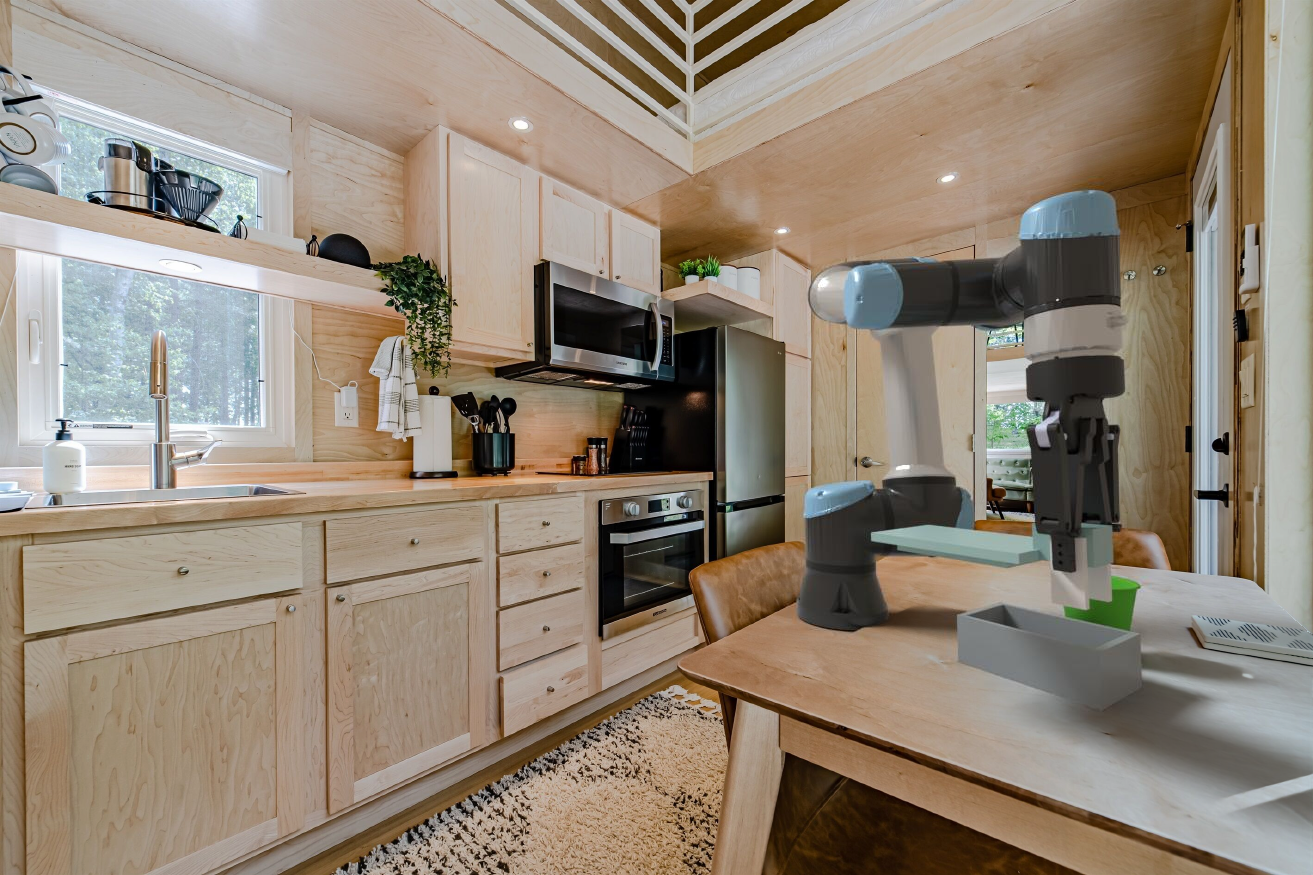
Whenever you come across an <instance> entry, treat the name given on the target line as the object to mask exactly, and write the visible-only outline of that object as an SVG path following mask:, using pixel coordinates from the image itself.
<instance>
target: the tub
mask: <svg viewBox="0 0 1313 875" xmlns="http://www.w3.org/2000/svg"><path fill="white" fill-rule="evenodd" d="M956 626H957V628H956V630H957V657H958V658H957V660H958V661H957V662H958V663H960V664H963V665H965V666H969V667H971V668H974V669H976V670H980V671H983V672H986V673H988V674H992V675H995V676H998V677H1000V678H1003V679H1007V680H1009V681H1013V682H1016V683H1019V684H1022V685H1024V686H1028V687H1029V688H1030V687H1031V688H1034V689H1036V690H1040V691H1042V692H1045V693H1048V694H1051V695H1053V696H1057V697H1060V698H1062V699H1066V700H1068V701H1072V702H1075V703H1078V704H1080V705H1083V706H1087V707H1089V708H1092V709H1095V710H1098V711H1104V710H1105V709H1108V708H1109V707H1111V706H1113V705H1115V704H1116V703H1118V702H1120V701H1121V700H1123V699H1125V698H1127V697H1128V696H1130V695H1132V694H1133V693H1135V692H1137V691H1139V690H1140V689H1142V688H1143V675H1142V674H1143V671H1142V669H1143V668H1142V651H1141V650H1142V646H1141V644H1142V643H1141V642H1142V641H1141V633H1139V632H1134V631H1131V630H1130V631H1126V630H1121V629H1117V628H1112V627H1108V626H1104V625H1099V624H1095V623H1090V622H1086V621H1081V620H1077V619H1073V618H1068V617H1066V616H1065V615H1063V616H1062V615H1058V614H1053V613H1050V612H1045V611H1042V610H1041V611H1040V610H1037V609H1032V608H1027V607H1023V606H1019V605H1015V604H1011V603H1010V604H1009V603H1006V602H1001V601H999V602H996V603H994V604H993V603H992V604H990V605H986V606H982V607H980V608H977V609H976V608H975V609H973V610H968V611H965V612H962V613H959V614H956Z"/></svg>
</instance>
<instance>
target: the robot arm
mask: <svg viewBox="0 0 1313 875" xmlns="http://www.w3.org/2000/svg"><path fill="white" fill-rule="evenodd" d="M1116 206H1117V205H1116V200H1115V198H1114V197H1113V195H1112V194H1110V193H1108V192H1107V191H1103V190H1096V189H1087V190H1075V191H1070V192H1065V193H1061V194H1057V195H1055V196H1052V197H1048V198H1046V199H1043V200H1041V201H1039V202H1037V203H1035V204H1034V205H1032V206H1030V207H1029V208H1028V209H1027V210H1026V211H1025V212H1024V213H1023V215H1022V217H1021V219H1020V229H1019V234H1018V235H1017V236H1018V237H1017V238H1018V240H1019V242H1020V245H1019V246H1017V247H1016V248H1014V249H1013V250H1012V251H1010V252H1008V253H1007V254H1005V255H1004V256H1000V257H987V258H986V257H985V258H969V259H968V258H967V259H953V260H952V259H951V260H941V261H940V260H937V259H936V258H934V257H917V256H908V257H906V258H890V259H872V260H870V259H869V260H851V261H846V262H842V263H837V264H835V265H831V266H829V267H827V268H825V269H822V270H821V271H819V273H817V275H815V276H814V278H813V279H812V281H811V282H810V284H809V287H808V290H807V303H808V305H809V306H808V307H809V308H810V311H811V312H812V313H813V314H814V316H816V317H817V318H818V319H820V320H822V321H824V322H827V323H834V324H838V325H848V326H849V327H850V328H851V329H855V330H869V331H870V336H871V338H873V340H876V341H877V342H879V345H880V355H881V356H880V357H881V366H882V367H881V369H882V380H883V383H882V384H883V394H884V406H885V419H886V432H887V433H886V434H887V443H888V444H887V445H888V457H889V471H888V472H887V473H886V474H885V475H884V476H883V477H882V478H881V484H882V485H881V487H882V488H876V486H875V484H874V482H873V481H872V480H853V481H852V480H851V481H841V482H833V483H828V484H827V483H826V484H822V485H821V484H820V485H818V486H813V487H812V488H810V489H809V490H807V492H806V494H805V496H804V509H803V515H802V516H803V519H804V538H805V539H804V540H805V543H804V545H805V546H804V547H805V548H804V549H805V572H804V577H803V579H802V584H801V585H800V586H801V587H800V591H799V595H798V596H797V599H796V616H797V617H798V618H799V619H801V620H802V621H804V622H806V623H809V624H811V625H813V626H814V625H815V626H818V627H822V628H827V629H834V630H843V631H860V630H861V629H864V628H866V627H871V626H877V625H880V624H883V623H885V622H887V621H888V620H889V616H890V615H889V606H888V604H887V602H886V600H885V597H884V594H883V591H882V588H881V584H880V581H879V578H878V575H877V558H878V557H911V558H913V557H917V558H920V557H927V558H933V559H935V558H938V557H937V556H931V555H925V554H919V553H913V552H907V551H901V550H897V545H894V544H888V543H882V542H875V541H871V533H872V532H879V531H887V530H894V529H901V528H909V527H916V526H924V525H934V526H943V527H951V528H960V529H969V530H975V529H974V528H975V519H976V517H975V515H976V514H975V505H974V501H973V499H971V498H972V495H971V494H970V492H969V491H968V490H967V489H965V488H963V487H960V486H957V479H956V475H955V474H953V472H951V471H950V470H948V469H947V468H946V467H945V458H944V449H943V438H942V428H941V419H940V418H941V417H940V409H939V396H938V387H937V379H936V378H937V377H936V368H935V367H936V365H935V356H934V346H933V345H934V344H933V338H932V337H933V334H934V333H935V332H936V331H937V330H938V329H940V327H961V326H971V327H974V328H975V329H978V330H980V331H985V332H995V331H999V330H1002V329H1005V330H1006V329H1010V328H1013V327H1015V326H1016V325H1020V324H1022V323H1023V339H1024V340H1023V342H1024V343H1023V344H1024V345H1023V346H1024V348H1023V350H1024V358H1025V359H1026V360H1028V361H1030V362H1031V363H1030V364H1029V365H1027V367H1026V368H1025V385H1026V387H1025V388H1026V390H1025V391H1026V398H1027V400H1029V401H1031V402H1034V403H1044V404H1043V406H1044V407H1043V413H1042V417H1041V419H1042V422H1040V423H1033V424H1031V423H1030V424H1027V425H1026V436H1027V441H1028V444H1029V450H1030V459H1031V460H1030V461H1031V477H1032V492H1033V493H1032V496H1033V509H1034V510H1033V511H1034V512H1033V514H1034V523H1035V526H1036V531H1037V533H1038V534H1046V535H1049V539H1050V561H1049V563H1050V585H1051V587H1050V588H1051V603H1052V604H1054V605H1058V606H1062V607H1063V606H1068V607H1073V608H1078V609H1083V610H1088V609H1090V607H1089V598H1090V599H1095V600H1100V601H1105V602H1110V601H1112V585H1111V576H1112V570H1111V569H1112V567H1111V566H1112V563H1111V564H1107V565H1103V566H1100V567H1096V568H1091V567H1088V562H1087V538H1085V537H1080V535H1081V523H1087V524H1099V525H1110V526H1112V533H1120V532H1121V531H1122V528H1123V525H1122V523H1119V522H1120V520H1121V515H1120V514H1121V513H1120V506H1121V505H1120V480H1119V479H1120V478H1119V476H1120V474H1119V469H1120V468H1119V444H1120V438H1121V437H1120V436H1121V428H1120V426H1119V424H1109V421H1108V420H1109V419H1108V418H1107V416H1106V413H1105V412H1106V411H1105V408H1104V404H1103V402H1104V400H1106V399H1115V398H1117V397H1120V396H1123V395H1124V393H1125V392H1126V380H1125V379H1126V377H1125V376H1126V374H1125V359H1124V358H1123V359H1122V357H1121V356H1119V355H1116V353H1118V352H1119V351H1121V349H1123V330H1122V327H1124V326H1126V325H1127V324H1128V323H1129V317H1128V316H1127V315H1126V314H1124V315H1122V304H1121V300H1122V290H1121V289H1122V287H1121V286H1122V285H1121V284H1122V282H1121V244H1120V243H1121V242H1120V239H1121V237H1120V235H1121V234H1122V233H1121V232H1122V231H1121V229H1120V228H1119V224H1118V214H1117V207H1116Z"/></svg>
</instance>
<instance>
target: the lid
mask: <svg viewBox="0 0 1313 875" xmlns="http://www.w3.org/2000/svg"><path fill="white" fill-rule="evenodd" d="M1031 528H1032V529H1031V530H1032V531H1031V533H1032V534H1031V535H1032V536H1027V535H1020V534H1009V533H1003V532H995V531H994V532H993V531H986V530H985V531H984V530H975V529H973V530H969V529H960V528H951V527H943V526H934V525H924V526H916V527H909V528H901V529H894V530H887V531H879V532H872V533H871V541H875V542H882V543H888V544H894V545H897V550H901V551H907V552H913V553H919V554H925V555H931V556H937V557H936V558H943V559H949V560H955V561H960V562H961V561H962V562H967V563H975V564H978V565H979V564H980V565H985V566H990V567H991V566H992V567H997V568H1002V569H1003V568H1004V569H1010V568H1014V567H1019V566H1023V565H1028V564H1032V563H1037V562H1040V561H1041V562H1042V561H1045V562H1050V539H1049V535H1046V534H1038V533H1037V531H1036V526H1035V522H1034V523H1032V524H1031ZM1080 537H1085V538H1087V562H1088V567H1091V568H1096V567H1100V566H1103V565H1107V564H1111V565H1112V564H1113V563H1115V562H1114V544H1113V543H1114V542H1113V541H1114V540H1113V532H1112V526H1110V525H1099V524H1087V523H1081V535H1080Z"/></svg>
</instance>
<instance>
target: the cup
mask: <svg viewBox="0 0 1313 875" xmlns="http://www.w3.org/2000/svg"><path fill="white" fill-rule="evenodd" d="M1111 585H1112V601H1110V602H1105V601H1100V600H1095V599H1090V598H1089V607H1090V609H1088V610H1083V609H1078V608H1073V607H1068V606H1063V605H1062V607H1063V611H1064V617H1068V618H1073V619H1077V620H1081V621H1086V622H1090V623H1095V624H1099V625H1104V626H1108V627H1112V628H1117V629H1121V630H1126V631H1130V632H1131V626H1132V621H1133V615H1134V609H1135V603H1136V597H1137V593H1138V590H1140V589H1141V587H1142V586H1141V585H1140V584H1139V583H1138V582H1137V581H1134V580H1131V579H1129V578H1125V577H1121V576H1120V577H1119V576H1115V575H1111Z"/></svg>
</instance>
